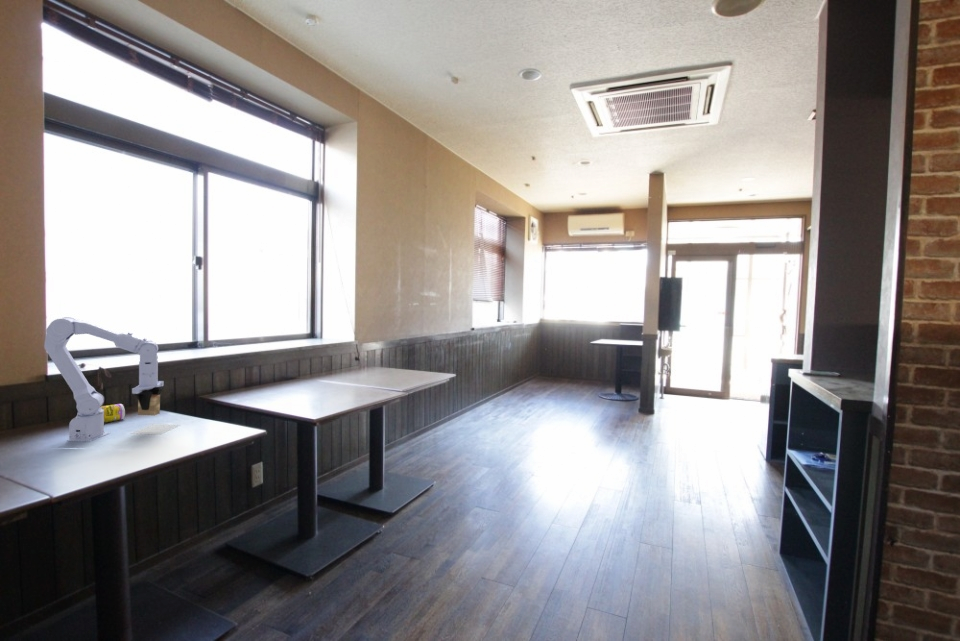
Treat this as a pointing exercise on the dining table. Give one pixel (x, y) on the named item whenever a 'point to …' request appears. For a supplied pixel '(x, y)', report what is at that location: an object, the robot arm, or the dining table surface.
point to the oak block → (151, 406)
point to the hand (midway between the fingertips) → (148, 408)
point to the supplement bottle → (113, 412)
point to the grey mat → (155, 429)
